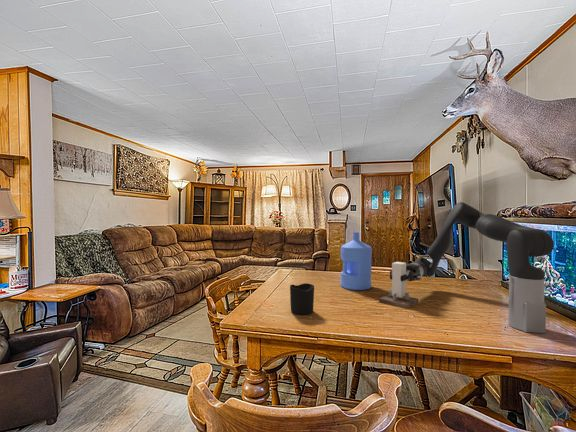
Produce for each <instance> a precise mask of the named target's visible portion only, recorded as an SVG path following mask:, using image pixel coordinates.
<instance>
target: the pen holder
mask: <svg viewBox="0 0 576 432" xmlns="http://www.w3.org/2000/svg"><path fill="white" fill-rule="evenodd" d="M289 293H290V294H289V296H290V298H289V299H290V301H289V302H290V312H291V313H292V314H293V315H297V316H308V315H311V314H312V313H313V312H314V302H315V300H314V298H315V285H314V284H312V283H308V282H307V283H301V284H298V285H297V284H296V285H295V284H290V285H289Z"/></svg>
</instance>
